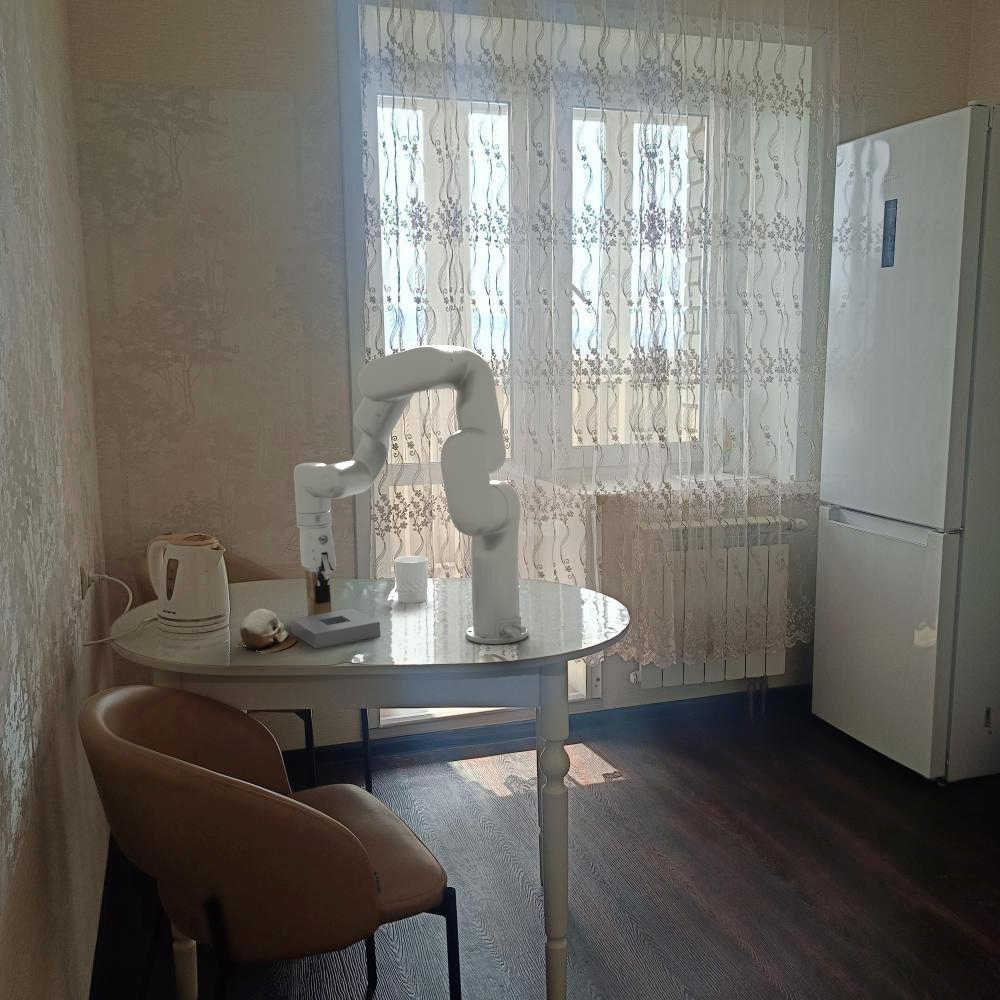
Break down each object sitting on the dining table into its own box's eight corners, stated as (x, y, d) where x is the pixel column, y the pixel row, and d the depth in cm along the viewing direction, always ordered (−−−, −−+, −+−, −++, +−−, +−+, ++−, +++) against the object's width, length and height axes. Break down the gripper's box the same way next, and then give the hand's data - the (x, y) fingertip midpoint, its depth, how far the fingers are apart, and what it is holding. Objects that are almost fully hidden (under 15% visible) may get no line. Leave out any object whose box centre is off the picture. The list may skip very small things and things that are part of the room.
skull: (266, 628, 192) (286, 597, 187) (291, 666, 189) (313, 635, 184) (218, 640, 183) (238, 608, 178) (244, 680, 179) (265, 648, 174)
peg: (332, 619, 202) (328, 566, 200) (314, 622, 199) (311, 568, 198) (325, 615, 205) (322, 563, 203) (308, 618, 203) (305, 565, 201)
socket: (380, 636, 187) (379, 621, 187) (315, 648, 180) (314, 633, 179) (353, 621, 199) (352, 608, 198) (291, 632, 192) (290, 618, 191)
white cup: (407, 595, 222) (405, 554, 220) (435, 597, 218) (433, 556, 217) (389, 602, 215) (387, 561, 213) (418, 605, 211) (416, 563, 210)
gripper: (344, 522, 194) (349, 605, 197) (316, 513, 208) (321, 591, 211) (311, 526, 190) (316, 611, 193) (284, 516, 204) (290, 596, 207)
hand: (319, 599), depth 202 cm, fingers closed on peg, 3 cm apart
